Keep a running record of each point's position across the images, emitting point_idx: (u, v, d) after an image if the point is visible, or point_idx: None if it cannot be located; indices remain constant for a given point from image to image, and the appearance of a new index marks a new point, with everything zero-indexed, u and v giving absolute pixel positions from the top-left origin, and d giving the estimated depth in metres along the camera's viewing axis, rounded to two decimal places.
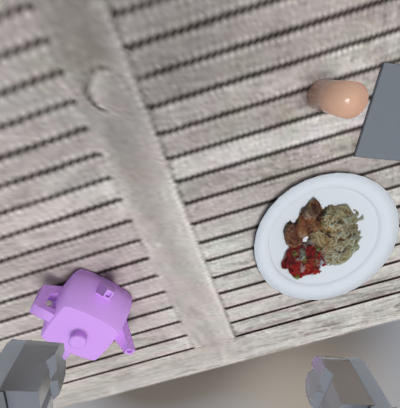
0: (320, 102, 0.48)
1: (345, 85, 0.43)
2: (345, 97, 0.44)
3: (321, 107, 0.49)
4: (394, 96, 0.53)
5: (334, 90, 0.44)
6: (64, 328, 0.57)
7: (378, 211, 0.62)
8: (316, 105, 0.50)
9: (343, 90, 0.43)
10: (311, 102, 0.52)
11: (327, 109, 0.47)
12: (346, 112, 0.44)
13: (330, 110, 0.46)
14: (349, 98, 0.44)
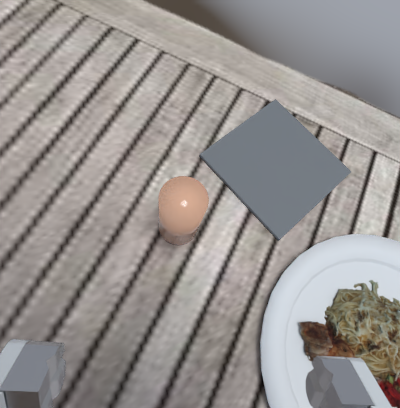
0: (170, 232, 0.34)
1: (160, 193, 0.31)
2: (175, 201, 0.31)
3: (177, 234, 0.34)
4: (242, 164, 0.44)
5: (159, 208, 0.31)
6: None
7: (377, 260, 0.41)
8: (176, 238, 0.36)
9: (164, 199, 0.30)
10: (172, 241, 0.38)
11: (179, 230, 0.32)
12: (194, 212, 0.30)
13: (180, 227, 0.31)
14: (179, 198, 0.31)
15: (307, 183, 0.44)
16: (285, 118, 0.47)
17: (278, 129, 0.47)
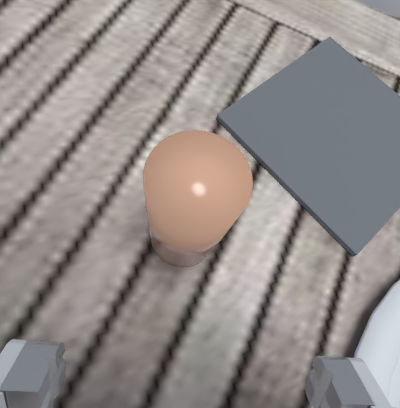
0: (170, 247, 0.17)
1: (148, 166, 0.14)
2: (180, 184, 0.14)
3: (184, 252, 0.18)
4: (285, 132, 0.27)
5: (145, 199, 0.15)
6: None
7: None
8: (180, 257, 0.19)
9: (155, 179, 0.14)
10: (174, 261, 0.21)
11: (188, 244, 0.16)
12: (222, 206, 0.14)
13: (191, 239, 0.15)
14: (188, 177, 0.14)
15: (391, 162, 0.27)
16: (347, 64, 0.31)
17: (338, 79, 0.30)
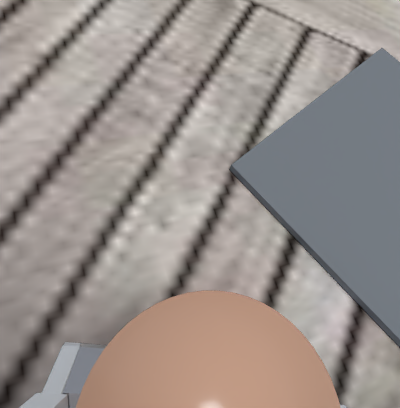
0: None
1: None
2: None
3: None
4: (331, 189, 0.18)
5: None
6: None
7: None
8: None
9: None
10: None
11: None
12: None
13: None
14: None
15: None
16: None
17: (398, 108, 0.21)
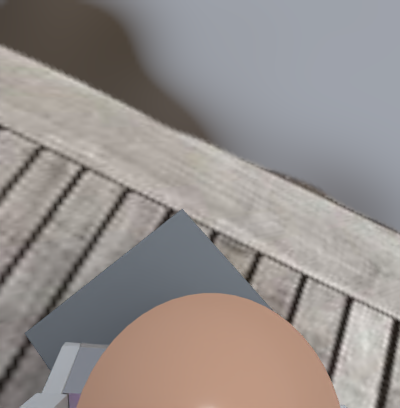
0: None
1: None
2: None
3: None
4: None
5: None
6: None
7: None
8: None
9: None
10: None
11: None
12: None
13: None
14: None
15: None
16: (195, 245, 0.28)
17: (181, 268, 0.27)
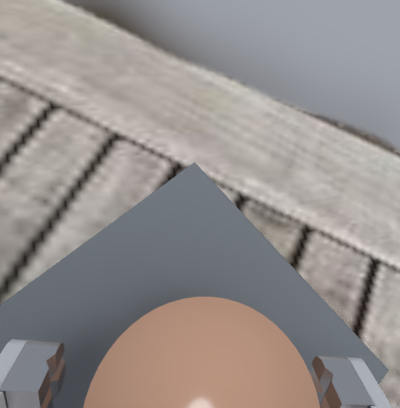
0: None
1: (92, 400, 0.06)
2: None
3: None
4: (70, 375, 0.15)
5: None
6: None
7: None
8: None
9: None
10: None
11: None
12: None
13: None
14: None
15: None
16: (215, 214, 0.19)
17: (193, 247, 0.18)
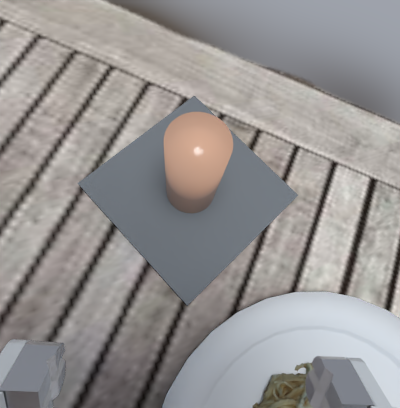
0: (182, 193, 0.26)
1: (166, 136, 0.22)
2: (187, 146, 0.22)
3: (192, 196, 0.26)
4: (139, 195, 0.31)
5: (165, 158, 0.23)
6: None
7: (330, 327, 0.29)
8: (189, 202, 0.28)
9: (171, 144, 0.22)
10: (185, 207, 0.29)
11: (194, 187, 0.24)
12: (214, 158, 0.22)
13: (196, 183, 0.23)
14: (192, 142, 0.22)
15: (233, 217, 0.31)
16: None
17: None
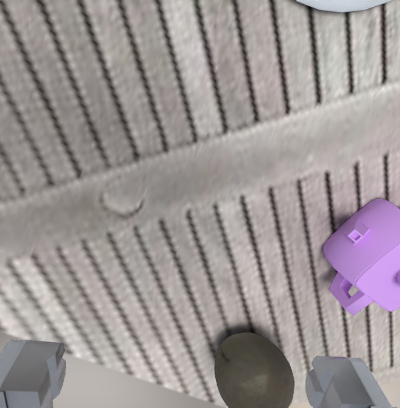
0: None
1: None
2: None
3: None
4: None
5: None
6: (388, 289, 0.47)
7: None
8: None
9: None
10: None
11: None
12: None
13: None
14: None
15: None
16: None
17: None
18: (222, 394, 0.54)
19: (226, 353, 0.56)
